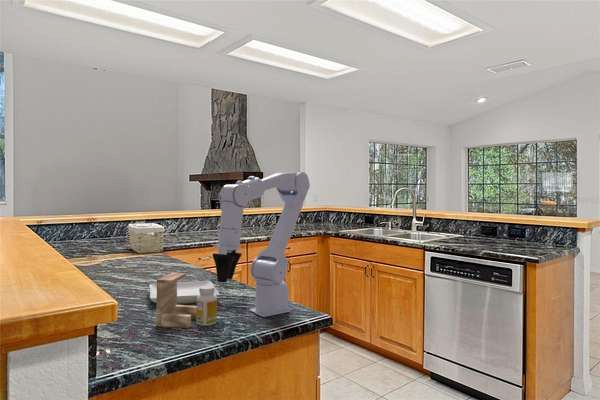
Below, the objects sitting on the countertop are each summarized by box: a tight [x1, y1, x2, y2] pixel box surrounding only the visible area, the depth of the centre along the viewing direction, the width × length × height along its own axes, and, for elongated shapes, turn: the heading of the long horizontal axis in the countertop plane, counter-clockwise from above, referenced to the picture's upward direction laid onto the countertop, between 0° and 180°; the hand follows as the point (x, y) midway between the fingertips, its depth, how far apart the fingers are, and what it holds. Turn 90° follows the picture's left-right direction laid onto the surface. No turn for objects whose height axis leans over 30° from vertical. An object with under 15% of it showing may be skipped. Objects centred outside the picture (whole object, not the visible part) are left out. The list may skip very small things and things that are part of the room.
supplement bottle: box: [195, 285, 218, 327], centre depth 110 cm, size 5×5×10 cm
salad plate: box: [148, 280, 220, 305], centre depth 136 cm, size 21×21×3 cm
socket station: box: [155, 272, 197, 329], centre depth 111 cm, size 9×10×12 cm
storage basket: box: [127, 222, 166, 254], centre depth 237 cm, size 24×16×15 cm
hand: (225, 280), depth 108 cm, fingers open, 7 cm apart
